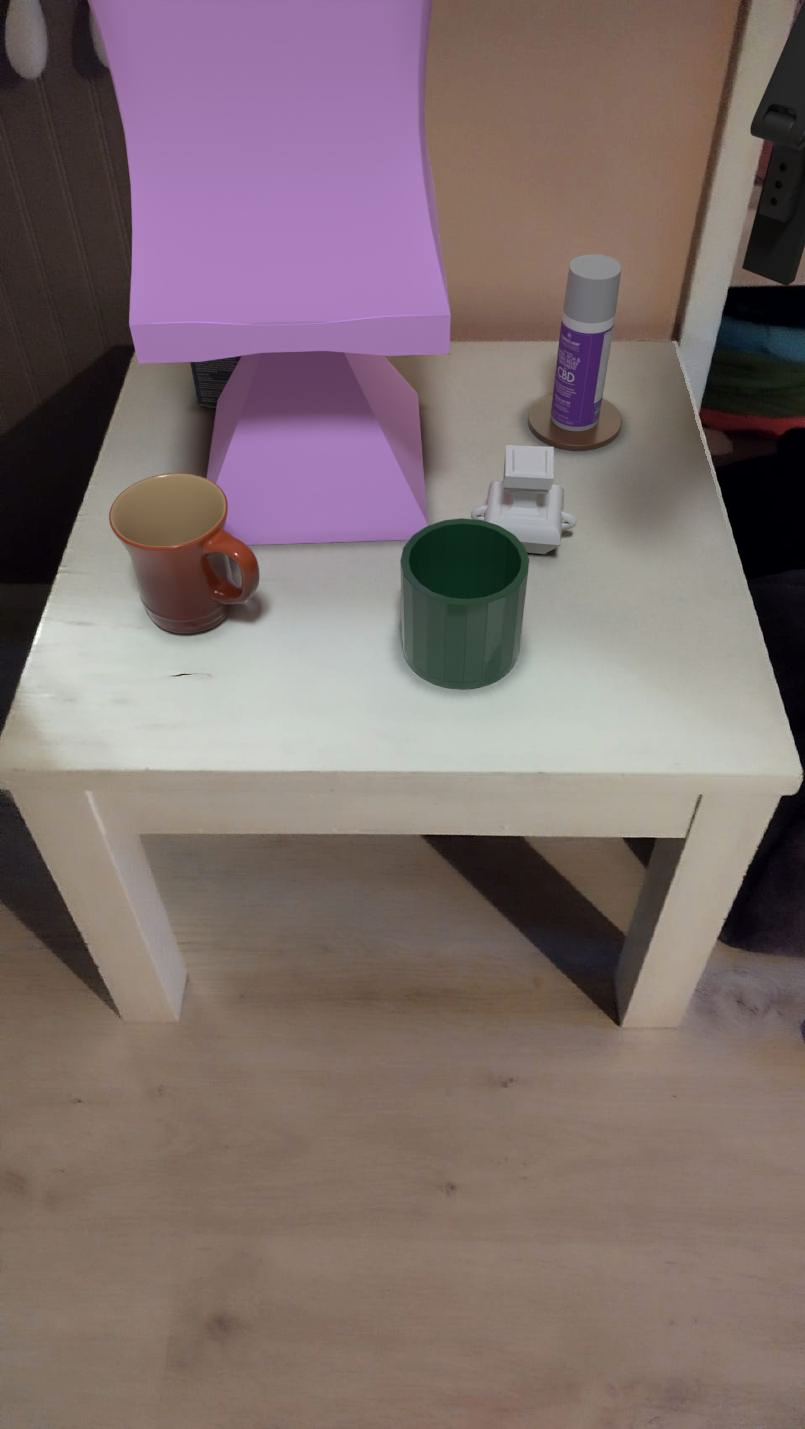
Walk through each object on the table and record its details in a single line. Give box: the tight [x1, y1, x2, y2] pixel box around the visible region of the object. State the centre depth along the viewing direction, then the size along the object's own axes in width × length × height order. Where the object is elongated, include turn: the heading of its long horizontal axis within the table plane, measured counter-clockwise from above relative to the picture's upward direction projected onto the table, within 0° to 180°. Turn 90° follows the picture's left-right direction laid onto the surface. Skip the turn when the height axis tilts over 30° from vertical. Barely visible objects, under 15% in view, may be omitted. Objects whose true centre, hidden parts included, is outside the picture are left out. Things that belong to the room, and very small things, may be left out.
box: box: [189, 356, 242, 409], centre depth 99 cm, size 8×6×11 cm
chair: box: [87, 0, 451, 546], centre depth 77 cm, size 22×22×45 cm
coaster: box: [527, 393, 623, 452], centre depth 98 cm, size 9×9×1 cm
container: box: [551, 253, 622, 431], centre depth 92 cm, size 5×5×15 cm
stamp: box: [470, 444, 578, 555], centre depth 85 cm, size 9×7×8 cm
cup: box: [399, 517, 530, 690], centre depth 76 cm, size 9×9×9 cm
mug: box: [108, 472, 260, 634], centre depth 78 cm, size 12×9×10 cm
